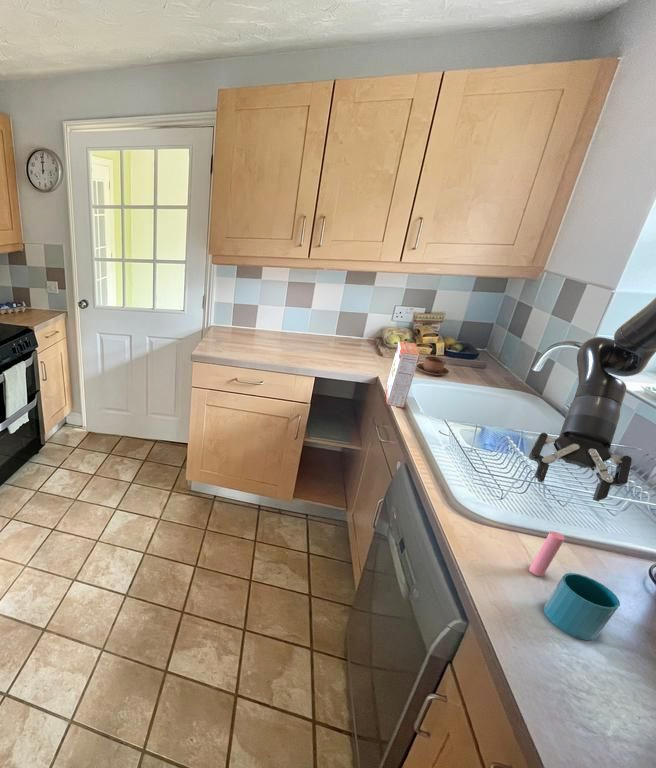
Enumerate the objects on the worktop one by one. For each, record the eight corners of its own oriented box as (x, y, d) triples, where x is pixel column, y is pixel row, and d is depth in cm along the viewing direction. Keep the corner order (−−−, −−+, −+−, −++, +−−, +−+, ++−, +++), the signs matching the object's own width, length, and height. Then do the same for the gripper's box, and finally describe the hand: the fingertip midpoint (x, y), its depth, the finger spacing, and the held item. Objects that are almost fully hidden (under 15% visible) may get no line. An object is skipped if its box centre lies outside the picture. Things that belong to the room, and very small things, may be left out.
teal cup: (587, 613, 76) (608, 582, 73) (604, 647, 70) (628, 615, 67) (538, 597, 79) (556, 567, 76) (551, 629, 73) (571, 597, 70)
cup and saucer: (419, 365, 189) (423, 352, 187) (450, 372, 182) (455, 359, 179) (412, 372, 182) (416, 358, 179) (443, 380, 174) (448, 366, 171)
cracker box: (383, 390, 163) (398, 340, 155) (401, 393, 161) (417, 343, 152) (385, 405, 152) (401, 351, 143) (404, 408, 150) (421, 354, 141)
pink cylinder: (541, 570, 85) (562, 533, 81) (544, 578, 83) (566, 541, 79) (527, 566, 86) (548, 529, 82) (530, 574, 84) (552, 537, 80)
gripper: (551, 404, 89) (527, 470, 86) (648, 427, 81) (626, 502, 78) (541, 416, 95) (518, 479, 92) (631, 439, 86) (609, 510, 83)
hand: (567, 490), depth 85 cm, fingers open, 8 cm apart
